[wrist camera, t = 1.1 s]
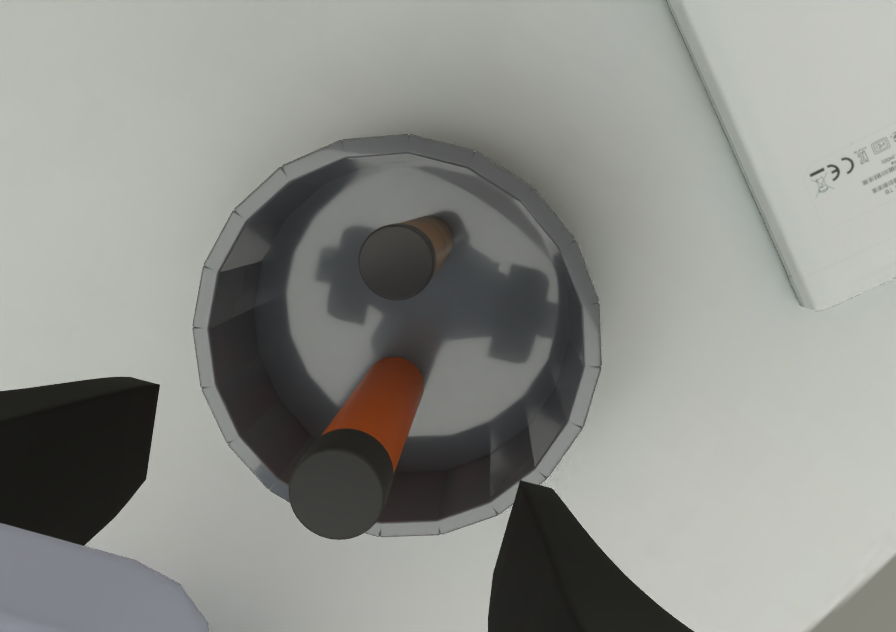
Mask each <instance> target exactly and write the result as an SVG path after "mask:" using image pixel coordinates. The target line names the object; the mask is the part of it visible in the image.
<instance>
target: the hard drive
mask: <svg viewBox="0 0 896 632" xmlns="http://www.w3.org/2000/svg"><path fill="white" fill-rule="evenodd" d="M666 1H667V3H668V6H669V8H670V11H671V13H672V15H673V17H674V19H675V22H676V24H677V26H678V28H679V30H680V33H681V35H682V37H683V40H684V42H685V44H686V46H687V48H688V51H689V53H690V55H691V57H692V60H693V62H694V65H695V67H696V69H697V71H698V73H699V76H700V78H701V80H702V82H703V85H704V87H705V90H706V92H707V94H708V96H709V99H710V101H711V103H712V106H713V108H714V110H715V112H716V114H717V116H718V119H719V121H720V123H721V125H722V128H723V130H724V132H725V135H726V137H727V139H728V142H729V144H730V146H731V148H732V151H733V153H734V155H735V157H736V159H737V162H738V164H739V167H740V169H741V171H742V173H743V175H744V178H745V180H746V182H747V184H748V187H749V189H750V191H751V193H752V196H753V198H754V200H755V203H756V205H757V207H758V209H759V211H760V214H761V216H762V218H763V220H764V223H765V225H766V227H767V230H768V232H769V234H770V237H771V239H772V241H773V243H774V245H775V248H776V250H777V252H778V254H779V257H780V259H781V261H782V264H783V266H784V268H785V270H786V273H787V276H788V279H789V282H790V284H791V286H792V288H793V290H794V292H795V295H796V297H797V299H798V302H799V305H800V306H802V307H806V308H809V309H811V310H814V311H821V310H824V309H828V308H830V307H833V306H836V305H838V304H840V303H842V302H844V301H846V300H849V299H851V298H853V297H855V296H857V295H859V294H861V293H864V292H866V291H868V290H870V289H873V288H875V287H877V286H879V285H881V284H883V283H885V282H887V281H889V280H891V279H894V278H896V0H666Z"/></svg>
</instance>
